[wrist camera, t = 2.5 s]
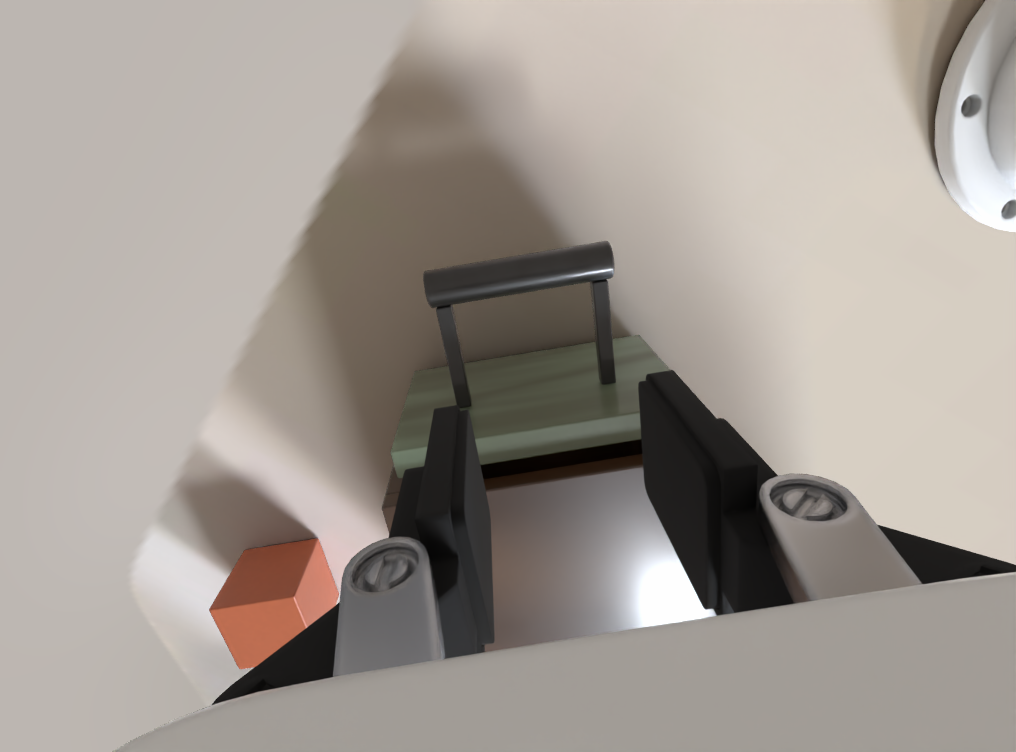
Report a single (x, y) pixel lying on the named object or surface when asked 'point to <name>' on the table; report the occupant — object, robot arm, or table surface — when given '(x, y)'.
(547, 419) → the drawer
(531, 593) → the cabinet
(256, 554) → the block
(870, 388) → the table surface
